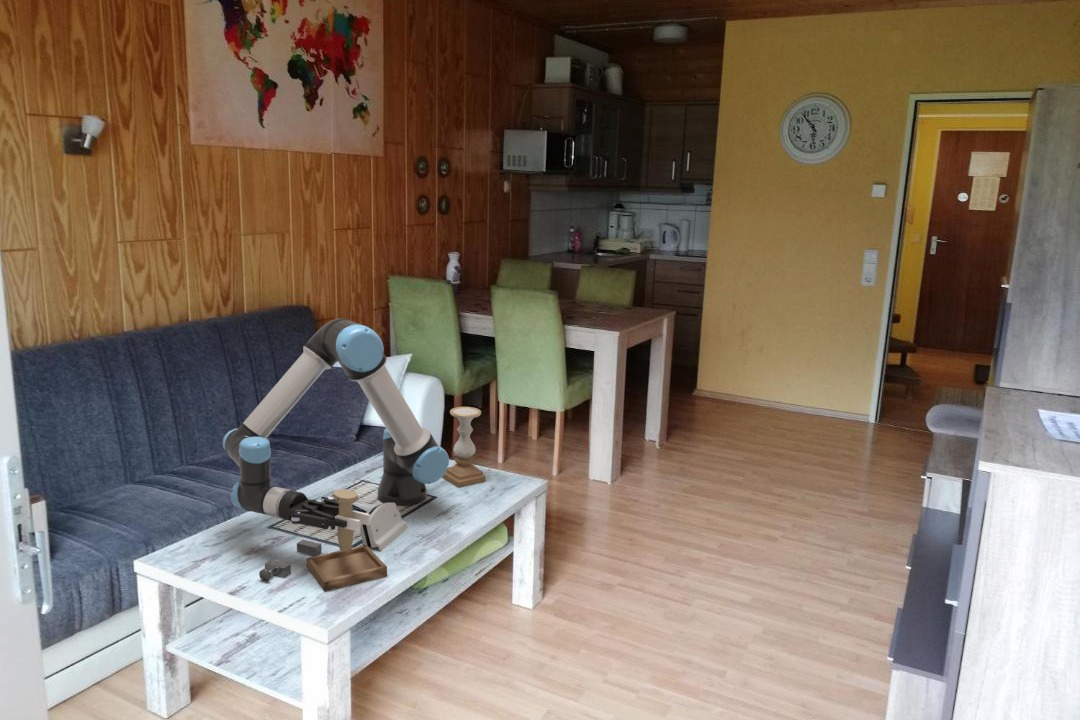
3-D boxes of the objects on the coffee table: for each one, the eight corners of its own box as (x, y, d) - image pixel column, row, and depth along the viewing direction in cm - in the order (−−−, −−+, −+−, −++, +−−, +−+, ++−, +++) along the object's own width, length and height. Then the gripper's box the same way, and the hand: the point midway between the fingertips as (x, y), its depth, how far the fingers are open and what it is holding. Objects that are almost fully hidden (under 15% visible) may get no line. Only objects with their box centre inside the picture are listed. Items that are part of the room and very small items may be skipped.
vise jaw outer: (271, 568, 201) (271, 556, 201) (290, 573, 199) (290, 561, 199) (254, 578, 196) (254, 567, 195) (274, 584, 194) (273, 572, 193)
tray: (366, 553, 211) (366, 544, 211) (387, 576, 200) (387, 566, 200) (306, 567, 203) (306, 558, 202) (324, 591, 191) (324, 582, 191)
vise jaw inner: (302, 548, 213) (302, 539, 212) (321, 552, 211) (321, 544, 210) (296, 551, 210) (296, 543, 210) (315, 556, 208) (315, 547, 208)
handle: (346, 557, 196) (346, 500, 193) (329, 548, 200) (329, 493, 197) (361, 550, 200) (362, 494, 197) (344, 542, 204) (344, 487, 200)
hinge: (380, 552, 213) (369, 517, 211) (365, 554, 214) (354, 520, 213) (408, 527, 228) (398, 494, 227) (394, 529, 230) (384, 497, 229)
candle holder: (441, 477, 267) (442, 408, 261) (468, 471, 273) (470, 404, 268) (458, 488, 258) (460, 417, 253) (486, 481, 265) (488, 412, 260)
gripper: (306, 506, 213) (382, 524, 204) (264, 530, 198) (344, 550, 189) (306, 480, 211) (382, 497, 203) (264, 501, 196) (344, 520, 188)
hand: (364, 522), depth 196 cm, fingers closed on handle, 3 cm apart
